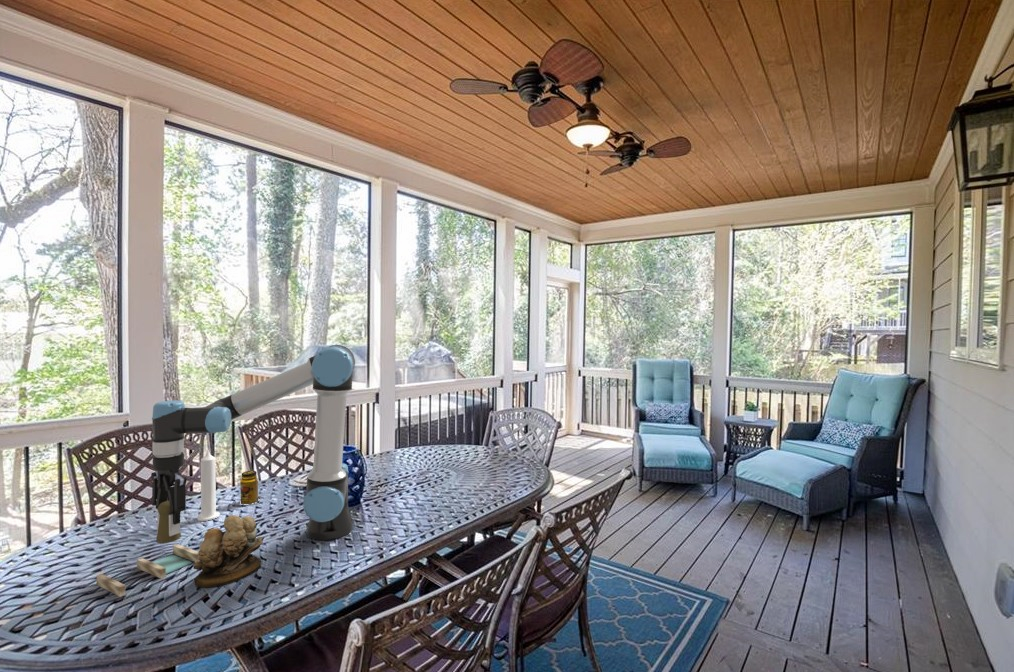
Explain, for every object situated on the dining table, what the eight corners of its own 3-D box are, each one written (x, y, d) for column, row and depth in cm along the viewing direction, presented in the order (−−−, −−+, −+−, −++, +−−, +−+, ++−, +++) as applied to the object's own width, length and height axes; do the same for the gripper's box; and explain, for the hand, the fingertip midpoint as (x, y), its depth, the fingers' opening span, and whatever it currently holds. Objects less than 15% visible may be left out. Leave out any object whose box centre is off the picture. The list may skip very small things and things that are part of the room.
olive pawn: (154, 545, 135) (153, 507, 135) (158, 536, 140) (158, 499, 140) (179, 540, 138) (179, 503, 137) (182, 532, 143) (182, 496, 143)
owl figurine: (253, 554, 146) (254, 500, 146) (271, 567, 139) (272, 510, 138) (186, 579, 132) (187, 518, 131) (203, 595, 125) (203, 531, 124)
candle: (192, 518, 171) (192, 450, 170) (212, 511, 177) (212, 446, 176) (204, 522, 168) (203, 453, 167) (224, 515, 174) (223, 448, 173)
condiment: (238, 506, 183) (238, 475, 182) (240, 498, 191) (240, 469, 190) (259, 503, 186) (259, 473, 185) (261, 496, 193) (261, 467, 193)
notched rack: (231, 547, 150) (231, 539, 150) (120, 596, 123) (120, 587, 123) (208, 539, 156) (208, 531, 156) (96, 584, 128) (96, 575, 128)
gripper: (200, 455, 138) (200, 533, 138) (164, 446, 146) (164, 520, 146) (172, 462, 131) (173, 544, 132) (136, 452, 139) (137, 530, 140)
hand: (168, 531), depth 139 cm, fingers closed on olive pawn, 5 cm apart
